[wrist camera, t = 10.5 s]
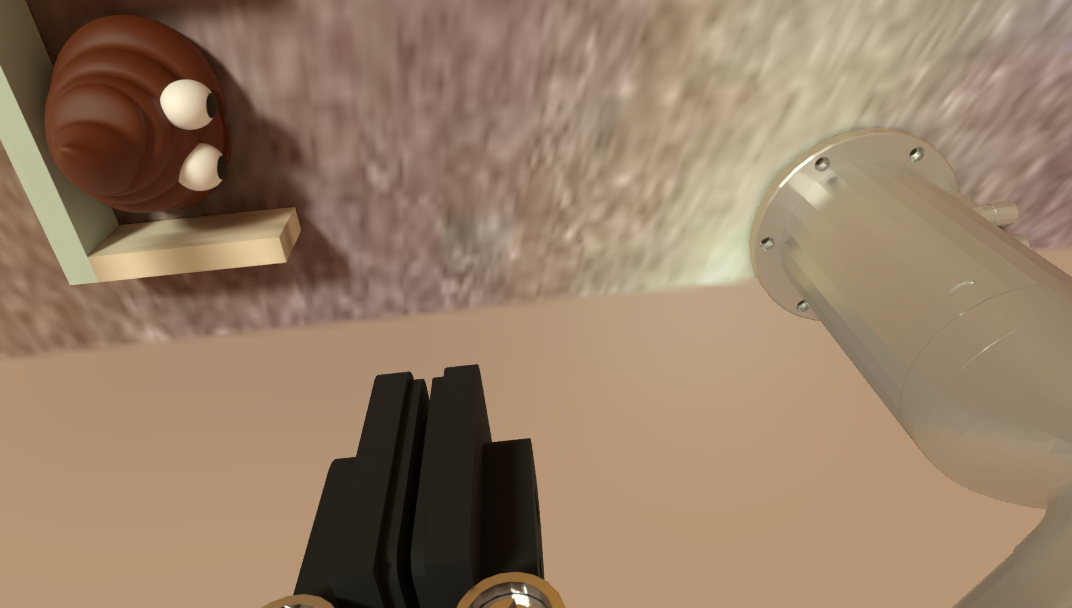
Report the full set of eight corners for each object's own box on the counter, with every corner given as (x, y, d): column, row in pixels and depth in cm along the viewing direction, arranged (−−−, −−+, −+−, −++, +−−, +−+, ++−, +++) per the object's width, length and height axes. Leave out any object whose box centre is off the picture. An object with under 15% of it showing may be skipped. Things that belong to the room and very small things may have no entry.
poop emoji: (46, 6, 35) (-78, 46, 27) (228, 15, 36) (158, 56, 28) (97, 197, 40) (5, 277, 32) (255, 201, 41) (203, 281, 33)
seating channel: (210, -102, 33) (180, -99, 30) (301, 230, 42) (286, 262, 39) (-42, -79, 33) (-101, -73, 30) (102, 251, 42) (70, 285, 39)
